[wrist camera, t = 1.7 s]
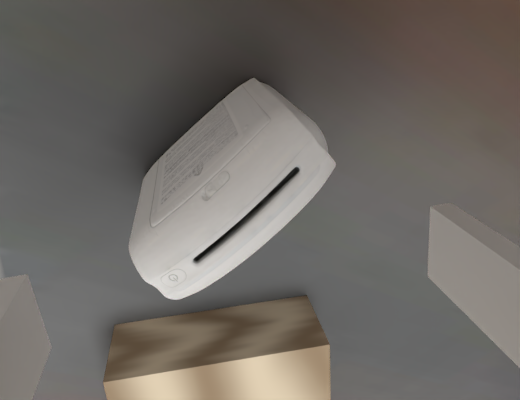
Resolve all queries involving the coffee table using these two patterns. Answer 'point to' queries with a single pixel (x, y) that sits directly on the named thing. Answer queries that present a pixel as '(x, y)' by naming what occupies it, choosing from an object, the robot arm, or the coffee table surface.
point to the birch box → (222, 355)
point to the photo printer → (226, 189)
